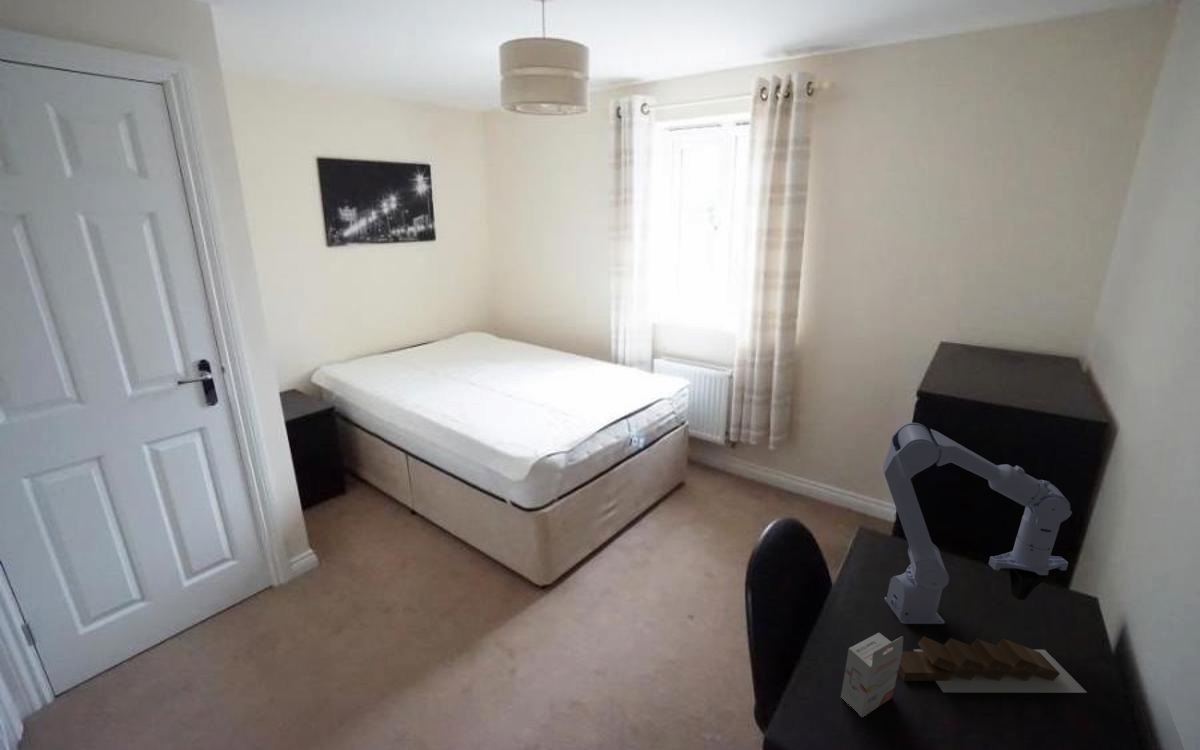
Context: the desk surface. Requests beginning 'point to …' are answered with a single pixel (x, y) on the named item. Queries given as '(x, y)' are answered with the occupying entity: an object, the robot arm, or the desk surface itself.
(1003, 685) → the mat
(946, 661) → the domino
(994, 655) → the domino
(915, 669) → the domino
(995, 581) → the desk surface
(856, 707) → the ink cartridge box
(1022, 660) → the brown wooden block
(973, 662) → the domino
